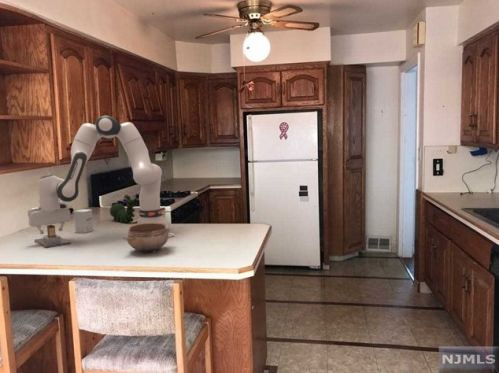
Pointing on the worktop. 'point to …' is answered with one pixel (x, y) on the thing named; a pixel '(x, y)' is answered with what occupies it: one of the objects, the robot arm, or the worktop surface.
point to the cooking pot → (147, 236)
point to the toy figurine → (123, 211)
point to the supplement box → (83, 221)
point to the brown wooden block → (51, 231)
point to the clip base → (51, 241)
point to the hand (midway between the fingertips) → (51, 232)
